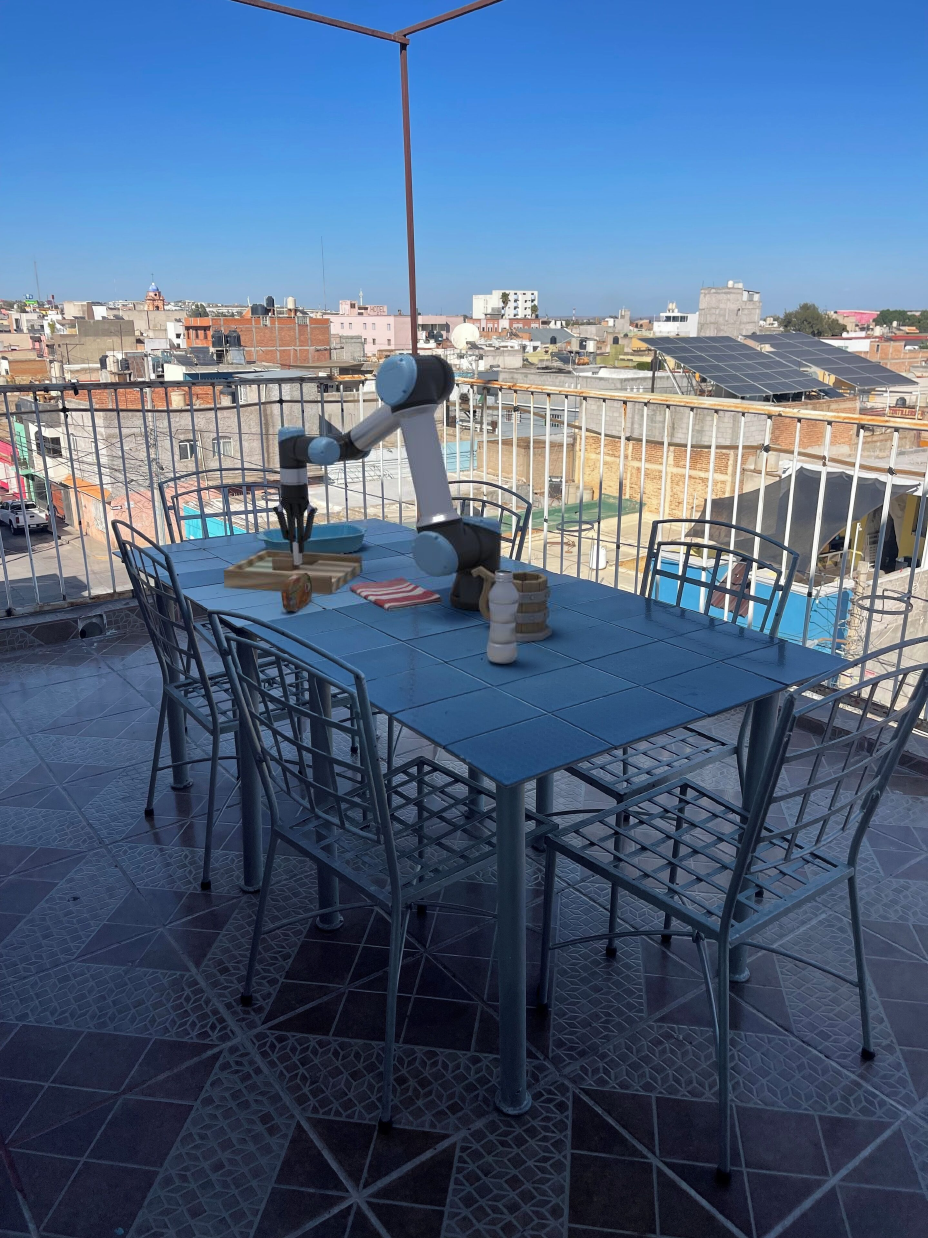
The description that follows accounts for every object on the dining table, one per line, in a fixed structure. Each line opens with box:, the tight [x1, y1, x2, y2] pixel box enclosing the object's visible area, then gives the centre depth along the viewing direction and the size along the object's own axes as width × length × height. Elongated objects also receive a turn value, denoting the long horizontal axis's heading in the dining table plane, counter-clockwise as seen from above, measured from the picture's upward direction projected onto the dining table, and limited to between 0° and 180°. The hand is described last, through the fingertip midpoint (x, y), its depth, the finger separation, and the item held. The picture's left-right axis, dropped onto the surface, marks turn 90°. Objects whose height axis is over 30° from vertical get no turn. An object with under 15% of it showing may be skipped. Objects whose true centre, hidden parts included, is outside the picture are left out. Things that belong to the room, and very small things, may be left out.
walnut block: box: [272, 554, 300, 572], centre depth 248 cm, size 6×6×4 cm
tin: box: [280, 573, 313, 613], centre depth 220 cm, size 15×3×8 cm, turn 168°
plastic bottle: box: [486, 569, 519, 665], centre depth 180 cm, size 6×7×20 cm
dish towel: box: [349, 576, 443, 612], centre depth 232 cm, size 17×23×3 cm
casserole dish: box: [256, 522, 368, 554], centre depth 285 cm, size 37×22×7 cm, turn 114°
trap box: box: [223, 549, 363, 595], centre depth 248 cm, size 27×32×5 cm
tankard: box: [471, 566, 553, 643], centre depth 202 cm, size 20×13×15 cm, turn 59°
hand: (298, 563), depth 248 cm, fingers closed
